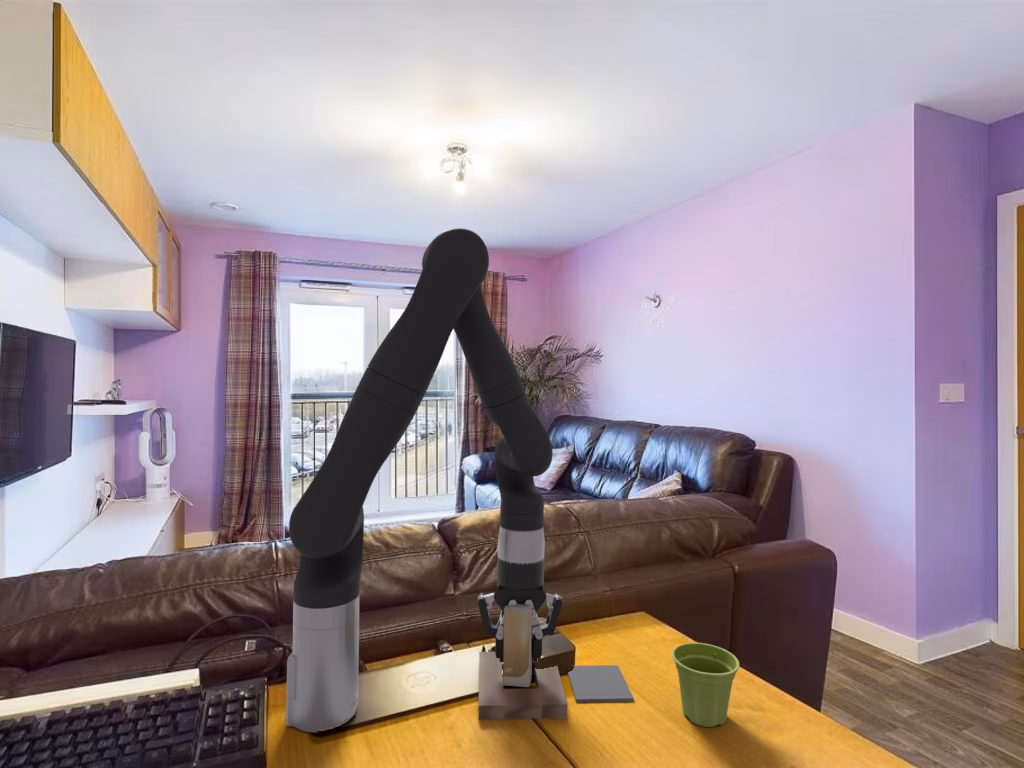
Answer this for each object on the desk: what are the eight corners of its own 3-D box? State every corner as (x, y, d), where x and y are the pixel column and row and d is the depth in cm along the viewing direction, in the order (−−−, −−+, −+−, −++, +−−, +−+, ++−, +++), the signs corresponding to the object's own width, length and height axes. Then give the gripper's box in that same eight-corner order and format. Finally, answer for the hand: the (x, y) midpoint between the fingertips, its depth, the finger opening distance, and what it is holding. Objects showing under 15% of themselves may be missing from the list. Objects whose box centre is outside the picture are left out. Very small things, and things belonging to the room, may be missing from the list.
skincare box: (507, 666, 91) (508, 592, 91) (533, 667, 90) (533, 594, 90) (502, 687, 84) (503, 608, 85) (530, 689, 84) (530, 609, 84)
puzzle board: (478, 719, 79) (478, 705, 79) (479, 663, 95) (479, 651, 95) (567, 717, 80) (567, 704, 80) (553, 662, 96) (553, 651, 96)
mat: (576, 701, 84) (576, 699, 84) (566, 668, 94) (566, 665, 94) (633, 700, 84) (633, 698, 84) (617, 667, 94) (617, 665, 94)
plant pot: (737, 743, 74) (738, 680, 75) (666, 724, 78) (667, 664, 78) (739, 707, 83) (740, 650, 83) (675, 691, 87) (676, 637, 87)
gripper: (476, 561, 83) (473, 672, 83) (568, 561, 84) (566, 671, 84) (476, 546, 91) (474, 648, 91) (561, 547, 92) (559, 648, 92)
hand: (518, 659), depth 87 cm, fingers closed on skincare box, 4 cm apart
